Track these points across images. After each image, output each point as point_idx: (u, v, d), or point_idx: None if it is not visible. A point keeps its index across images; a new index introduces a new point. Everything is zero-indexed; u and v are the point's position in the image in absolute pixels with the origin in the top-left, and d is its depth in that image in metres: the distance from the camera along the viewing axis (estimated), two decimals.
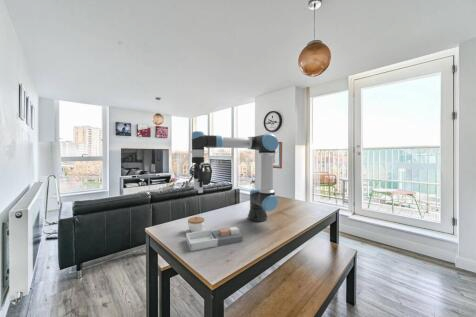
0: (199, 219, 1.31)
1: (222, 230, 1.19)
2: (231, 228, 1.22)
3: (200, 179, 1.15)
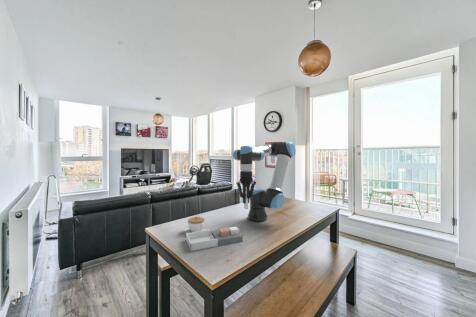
0: (199, 219, 1.31)
1: (222, 230, 1.19)
2: (231, 228, 1.22)
3: None
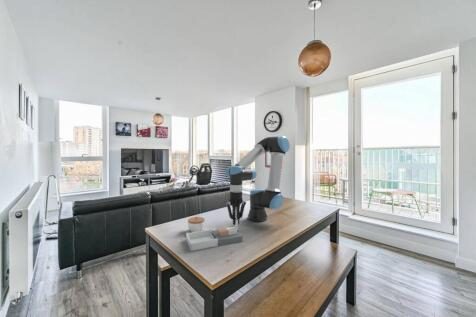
0: (199, 219, 1.31)
1: (221, 230, 1.18)
2: (228, 228, 1.21)
3: (230, 216, 1.21)
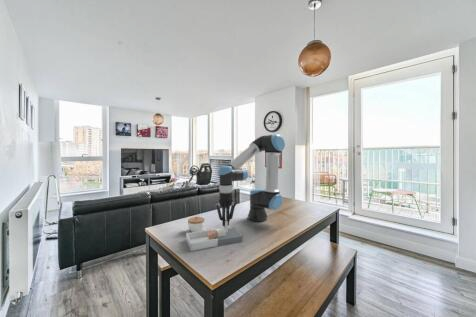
0: (199, 219, 1.31)
1: (209, 233, 1.16)
2: (218, 230, 1.19)
3: None
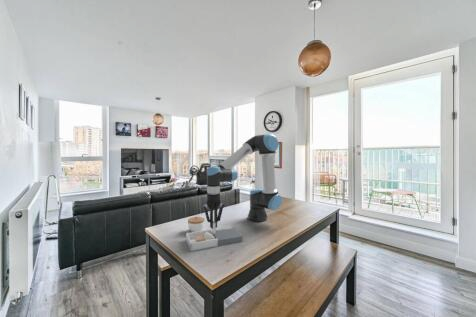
0: (199, 219, 1.31)
1: None
2: (208, 233, 1.16)
3: None
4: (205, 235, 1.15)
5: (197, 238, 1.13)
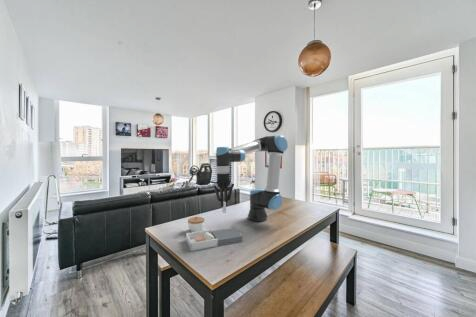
0: (199, 219, 1.31)
1: None
2: (208, 233, 1.16)
3: None
4: (205, 235, 1.15)
5: (197, 238, 1.13)
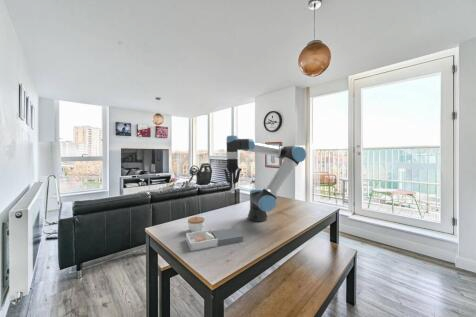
0: (199, 219, 1.31)
1: None
2: (208, 233, 1.16)
3: (227, 181, 1.36)
4: (205, 235, 1.15)
5: (197, 238, 1.13)
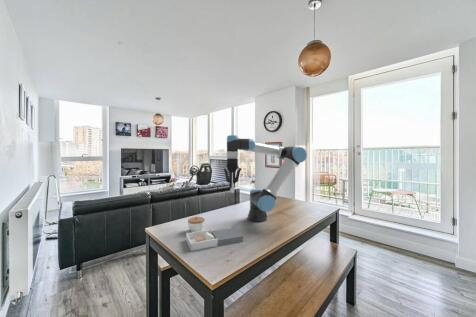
0: (199, 219, 1.31)
1: None
2: (208, 233, 1.16)
3: (227, 180, 1.36)
4: (205, 235, 1.15)
5: (197, 238, 1.13)
